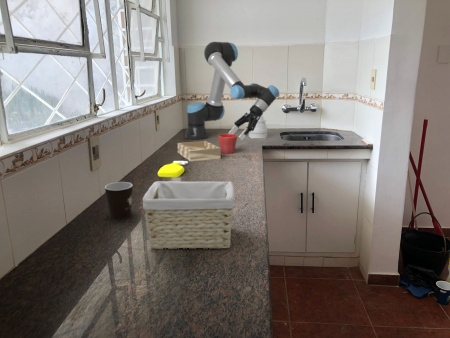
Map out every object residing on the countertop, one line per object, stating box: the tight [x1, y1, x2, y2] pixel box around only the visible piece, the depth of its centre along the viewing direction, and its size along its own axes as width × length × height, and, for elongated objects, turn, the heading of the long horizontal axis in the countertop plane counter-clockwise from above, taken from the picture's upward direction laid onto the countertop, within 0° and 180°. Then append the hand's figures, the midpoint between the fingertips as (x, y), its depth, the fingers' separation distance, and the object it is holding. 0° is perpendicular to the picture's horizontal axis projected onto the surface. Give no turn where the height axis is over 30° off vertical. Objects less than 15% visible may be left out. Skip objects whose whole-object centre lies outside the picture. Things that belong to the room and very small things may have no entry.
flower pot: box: [217, 133, 238, 155], centre depth 208 cm, size 11×11×10 cm
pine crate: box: [177, 140, 222, 162], centre depth 201 cm, size 22×17×6 cm
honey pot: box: [248, 114, 268, 139], centre depth 253 cm, size 13×13×18 cm
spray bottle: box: [157, 160, 189, 178], centre depth 173 cm, size 3×11×25 cm
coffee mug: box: [104, 181, 134, 220], centre depth 120 cm, size 12×9×10 cm
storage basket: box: [142, 180, 236, 250], centre depth 102 cm, size 24×16×15 cm
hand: (234, 136), depth 208 cm, fingers open, 13 cm apart
